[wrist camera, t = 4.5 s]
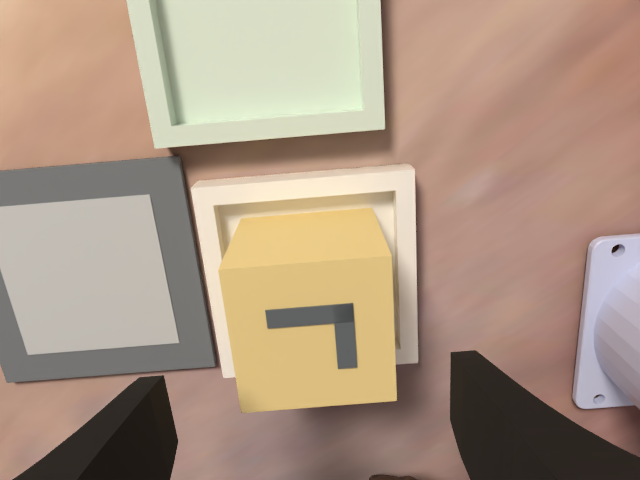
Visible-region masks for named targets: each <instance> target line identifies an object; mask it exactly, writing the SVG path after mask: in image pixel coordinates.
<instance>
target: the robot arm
mask: <svg viewBox="0 0 640 480" xmlns="http://www.w3.org/2000/svg"><path fill="white" fill-rule="evenodd" d="M618 244H619V248H618V250H617V251H616V252H614V253H612V252H611V251H612V248H613V247H614V246H615V245H618ZM599 394H600V395H599ZM596 395H599V396H598V397H597V398H595V399H594V397H595V396H596ZM572 398H573V401H574V402H575V403H576V405H577V406H578V407H579V408H581V409H593V408H606V407H619V406H632V405H636V406H637V407H638V408H639V410H640V234H627V235H615V236H602V237H598V238H596V239H594V240H593V241H592V242H591V243H590V245H589V247H588V253H587V262H586V272H585V281H584V291H583V300H582V309H581V319H580V328H579V338H578V347H577V356H576V366H575V375H574V384H573V394H572ZM450 421H451V424H452V428H453V432H454V435H455V439H456V442H457V445H458V449H459V452H460V455H461V458H462V461H463V463H464V465H465V468H466V470H467V472H468V475H469V477H470V479H471V480H640V457H637V456H635V455H633V454H631V453H629V452H627V451H625V450H623V449H621V448H619V447H617V446H615V445H613V444H611V443H610V442H608V441H606V440H604V439H602V438H601V437H599V436H597V435H595V434H593V433H592V432H590V431H588V430H586V429H584V428H583V427H581V426H579V425H578V424H576V423H575V422H573V421H571V420H570V419H568V418H567V417H565V416H564V415H562V414H560V413H559V412H557V411H556V410H554V409H553V408H551V407H550V406H548V405H547V404H545V403H544V402H543V401H541V400H540V399H538V398H537V397H535V396H534V395H533V394H531V393H530V392H529V391H527V390H526V389H524V388H523V387H522V386H520V385H519V384H518V383H516V382H515V381H514V380H513V379H511V378H510V377H509V376H507V375H506V374H505V373H504V372H502V371H501V370H500V369H498V368H497V367H496V366H495V365H493V364H492V363H491V362H490V361H488V360H487V359H486V358H485V357H483V356H482V355H481V354H479V353H478V352H477V351H475V350H474V351H462V352H451V383H450ZM177 445H178V438H177V434H176V429H175V425H174V420H173V415H172V411H171V406H170V402H169V397H168V393H167V388H166V383H165V379H164V375H162V376H150V377H140V378H138V379H137V380H136V381H134V382H133V383H132V384H131V385H129V386H128V387H127V388H126V389H125V390H124V391H122V392H121V393H120V394H119V395H118V396H117V397H116V398H114V399H113V400H112V401H111V402H110V403H109V404H108V405H107V406H105V407H104V408H103V409H102V410H101V411H100V412H98V413H97V414H96V415H95V416H94V417H93V418H92V419H90V420H89V421H88V422H87V423H86V424H85V425H83V426H82V427H81V428H80V429H79V430H77V431H76V432H75V433H74V434H72V435H71V436H70V437H69V438H67V439H66V440H65V441H64V442H62V443H61V444H60V445H59V446H57V447H56V448H55V449H54V450H52V451H51V452H50V453H49V454H47V455H46V456H45V457H44V458H42V459H41V460H40V461H38V462H37V463H36V464H34V465H33V466H31V467H30V468H29V469H27V470H26V471H25V472H23V473H22V474H20V475H19V476H17V477H16V478H14V479H13V480H170V477H171V473H172V469H173V464H174V460H175V455H176V450H177Z"/></svg>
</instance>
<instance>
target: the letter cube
mask: <svg viewBox="0 0 640 480" xmlns="http://www.w3.org/2000/svg"><path fill="white" fill-rule="evenodd" d="M218 272H219V279H220V285H221V291H222V297H223V303H224V309H225V316H226V322H227V328H228V334H229V340H230V346H231V353H232V359H233V365H234V371H235V377H236V383H237V390H238V396H239V402H240V408H241V413H247V412H259V411H272V410H285V409H298V408H311V407H324V406H337V405H350V404H363V403H376V402H389V401H397V388H396V360H395V331H394V302H393V274H392V255H391V252H390V250H389V248H388V245H387V243H386V240H385V238H384V235H383V233H382V231H381V228H380V226H379V223H378V221H377V218H376V216H375V214H374V211H373V209H372V208H361V209H349V210H336V211H324V212H312V213H300V214H288V215H276V216H263V217H251V218H241V220H240V222H239V224H238V226H237V229H236V231H235V233H234V235H233V238H232V240H231V242H230V244H229V246H228V249H227V251H226V253H225V255H224V258H223V260H222V262H221V264H220V267H219V269H218Z"/></svg>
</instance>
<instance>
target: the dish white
mask: <svg viewBox="0 0 640 480" xmlns="http://www.w3.org/2000/svg"><path fill="white" fill-rule="evenodd" d="M191 193H192V199H193V205H194V210H195V216H196V222H197V228H198V234H199V239H200V245H201V251H202V257H203V263H204V269H205V274H206V280H207V286H208V292H209V298H210V303H211V309H212V315H213V321H214V327H215V332H216V338H217V344H218V350H219V356H220V362H221V367H222V373H223V378H231V377H235V371H234V365H233V359H232V353H231V346H230V340H229V334H228V328H227V322H226V316H225V309H224V303H223V297H222V291H221V285H220V279H219V272H218V269H219V267H220V264H221V262H222V260H223V258H224V255H225V253H226V251H227V249H228V246H229V244H230V242H231V240H232V238H233V235H234V233H235V231H236V229H237V226H238V224H239V222H240V220H241V218H251V217H263V216H276V215H288V214H300V213H312V212H324V211H336V210H349V209H361V208H372V209H373V211H374V214H375V216H376V218H377V221H378V223H379V226H380V228H381V231H382V233H383V235H384V238H385V240H386V243H387V245H388V248H389V250H390V252H391V255H392V274H393V302H394V331H395V360H396V365H397V364H410V363H418V322H417V264H416V205H415V169H414V168H413V167H412V166H411V165H410V164H409V163H405V164H393V165H381V166H369V167H357V168H345V169H333V170H321V171H309V172H297V173H285V174H273V175H261V176H249V177H237V178H225V179H213V180H201V181H197V182H196V183H195V184H194V185H193V186H192V187H191Z"/></svg>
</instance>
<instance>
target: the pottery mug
mask: <svg viewBox="0 0 640 480" xmlns="http://www.w3.org/2000/svg"><path fill="white" fill-rule="evenodd" d="M369 480H417V479H415V478H414V477H411V476H404V477H395V476H389V475H373V476H371V477H370V478H369Z"/></svg>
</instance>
